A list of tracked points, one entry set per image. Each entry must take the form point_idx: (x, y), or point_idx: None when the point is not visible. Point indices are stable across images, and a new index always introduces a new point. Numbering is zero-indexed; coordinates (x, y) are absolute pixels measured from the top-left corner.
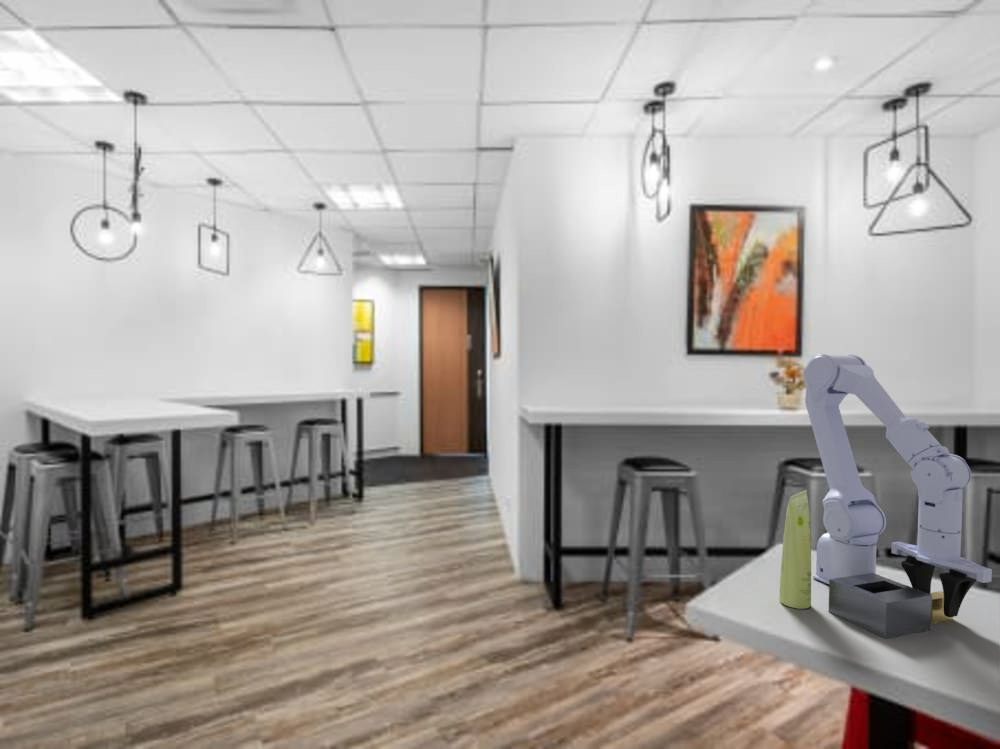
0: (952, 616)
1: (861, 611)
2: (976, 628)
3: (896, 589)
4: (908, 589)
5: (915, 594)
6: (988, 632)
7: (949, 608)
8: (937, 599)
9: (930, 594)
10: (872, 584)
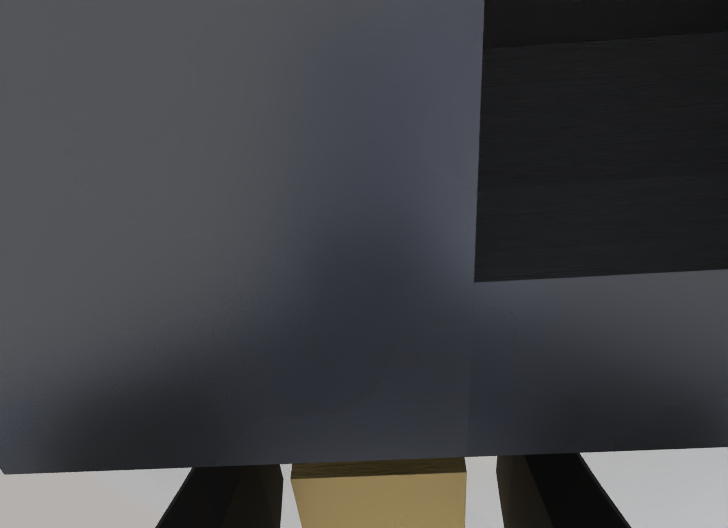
0: None
1: None
2: (186, 468)
3: (682, 199)
4: (386, 307)
5: (5, 174)
6: (122, 479)
7: (186, 482)
8: (305, 523)
9: (27, 471)
10: None
